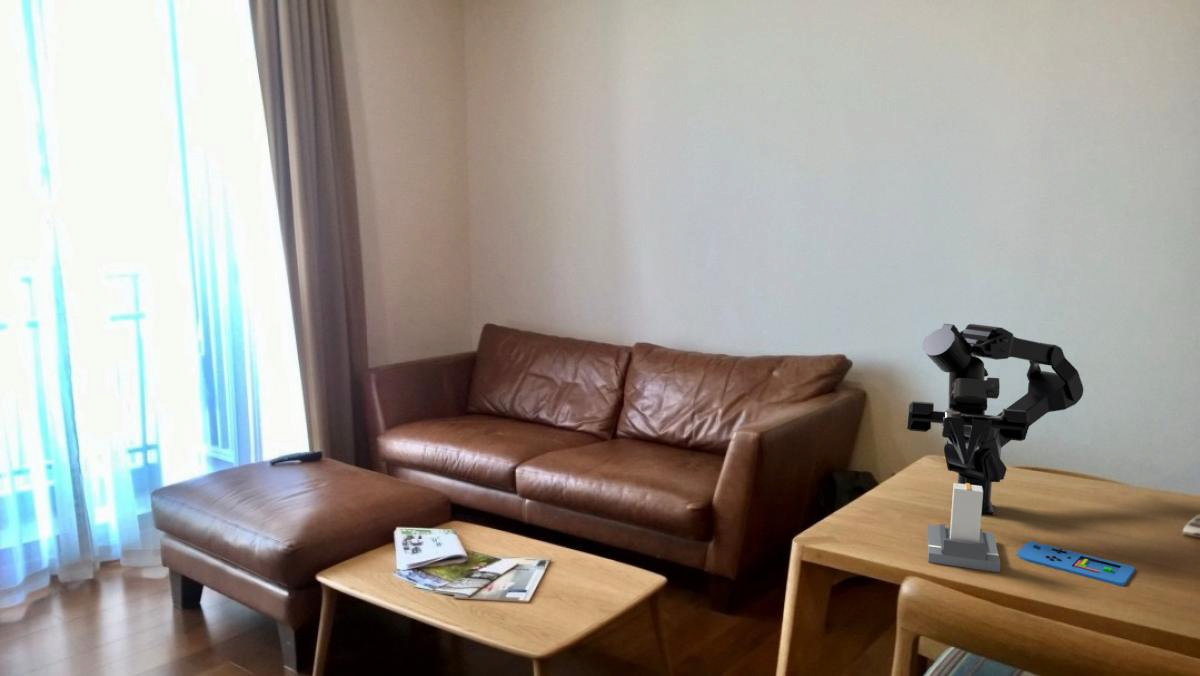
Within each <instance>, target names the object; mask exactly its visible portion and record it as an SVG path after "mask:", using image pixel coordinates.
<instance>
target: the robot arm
mask: <svg viewBox="0 0 1200 676" xmlns="http://www.w3.org/2000/svg"><path fill="white" fill-rule="evenodd" d="M921 347H922V351H923V352H924V353H925V354H926V356H927V357H928V358H929V359H930V360H931V361H932V362H933V363H934V365H936V366H937V367H938V368H939V369H940V370H941V371H942V372H944V373H948V374H949V375H948V409H944V411H938V410H937V411H935V410H934V407H935V405H934V402H928V401H915V400H913V401H911V402H910V403H909V404H908V411H907V412H908V413H907V422H906V423H907V424H906V426H907V427H906V429H907V430H909V431H911V432H912V431H913V432H914V431H915V432H921V433H922V432H923V433H927V432H928V431H930V430H931V428H932V423H933V424H941V425H942V432H941V436H942V438H946V442H945V444H944V447H943V453H944V457H945V464H946V468H947V471H949V472H953V473H957V474H958V475H957V483H959V484H965V483H970V485H977V486H982V489H983V500H982V513H981V514H986V515H993V514H995V513H994V510H995V509H994V507H993V504H992V501H991V499H992V498H991V497H992V487H993V485H992V484H993V483H1000V482H1001V480H1002V481H1003V480H1004V479H1005V476H1006V472H1007V471H1008V470H1007V467H1006V465H1005V463H1004V462H1003V461H1002V459H1001V456H1002V448H1003V447H1004V446H1005V445H1007V444H1008V443H1009V442H1011V441H1015V442H1016V441H1017V442H1018V441H1019V442H1022V441H1024V440H1026V436H1027V435H1028V430H1029V428H1030V427H1031V426H1032V425H1033V424H1034V423H1036V422H1037V421H1038V420H1040V419H1041V418H1042V417H1043V416H1045V415H1046V414H1048V413H1053V412H1059V411H1064V410H1067V409H1068V408H1069V409H1070V408H1071V407H1074V406H1075V405H1076V404H1077V403H1078V402H1079V401H1080V400H1081V399H1082V397H1083V396H1084V386H1083V382H1082V380H1081V376H1080V374H1079V370H1077V368H1075V366H1074V365H1072V363H1071V362H1070V361H1069V360H1068V359H1067V358H1066V356H1065V353H1064V351H1063V349H1062V347H1061V346H1059V345H1057V344H1052V343H1046V342H1045V343H1044V342H1037V341H1034V340H1028V339H1023V338H1019V337H1017V336H1014V333H1013V332H1010V330H1007V329H1005V328H1004V327H999V326H991V325H983V324H975V323H970V324H967V325H966V327H965V329H964V330H961V331H959V329H958V327H957V326H956V325H955V324H951V323H943V324H942V327H941V328H939V329H936V330H934V331H931V332H930V333H929V334H928V335H927V336H925V337H924V339H923V341H922V345H921ZM981 358H983V359H990V360H1005V359H1006V360H1008V359H1009V358H1014V359H1018V360H1024V361H1028V362H1029V368H1028V370H1027V372H1026V378H1027V381H1028V385H1027V393H1025V395H1023V396H1022V397H1020V398H1019V399H1017V400H1016V401H1014V402H1013V403H1012V404H1010V405H1009V406H1007V408H1003V409H1002V411H1001V412H1000V413H998V414H997V415H992V414H986V412H985V411H987V409H988V399H995V400H996V399H998V398H999V396H1000V388H1001V387H1000V378H999V377H988V376H989V372H988V370H987V368H985V363H984V361H983V360H982V359H981ZM1040 365H1045V366H1050V367H1051V369H1052V370H1053V371H1054V372H1052V371H1045V370H1042V369H1041V366H1040ZM985 377H987V379H986V380H985Z"/></svg>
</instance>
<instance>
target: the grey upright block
mask: <svg viewBox="0 0 1200 676" xmlns="http://www.w3.org/2000/svg"><path fill="white" fill-rule="evenodd" d="M951 500H952V501H951V512H950V513H951V514H950V539H954V540H962V541H969V542H977V543H979V539H980V529H981V523H982V514H983V513H982V500H983V489H982V486H977V485H970V483H965V484H959V483H958V482H957V483H956V482H953V486H952V499H951Z"/></svg>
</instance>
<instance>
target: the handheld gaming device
mask: <svg viewBox="0 0 1200 676" xmlns="http://www.w3.org/2000/svg"><path fill="white" fill-rule="evenodd" d="M1016 555H1018V556H1019V557H1020V558H1021V560H1022V559H1023V561H1024V560H1025V562H1027V561H1028V563H1030V564H1034V563H1035V564H1034V565H1038V566H1042V565H1044V566H1043V567H1046V566H1047V568H1050V567H1051V568H1050V569H1053V568H1054V570H1057V569H1058V570H1057V571H1061V570H1062V572H1065V571H1066V572H1065V573H1069V574H1072V573H1073V575H1075V576H1080V577H1084V578H1088V579H1091V578H1092V579H1091V580H1095V579H1096V581H1099V582H1104V583H1107V584H1110V585H1111V584H1112V585H1115V586H1118V587H1125V586H1126V584H1127V583H1128V581H1130V579H1131V578H1132V576H1133V574H1134V573H1135V572H1136V571H1135V570H1136V568H1135V566H1132V565H1130V564H1129V565H1128V564H1125V563H1120V562H1116V561H1114V560H1113V561H1111V560H1109V559H1103V558H1101V557H1100V558H1099V557H1097V556H1093V555H1092V556H1091V555H1089V554H1084V553H1080V552H1076V551H1072V550H1068V549H1064V548H1061V547H1056V546H1051V545H1049V544H1044V543H1040V542H1034V541H1028V542H1027V543H1026V544H1025V545H1024V546H1022V547H1021V548H1020V549H1019V550H1018V551H1017V554H1016ZM1018 556H1017V557H1018ZM1019 557H1018V558H1019ZM1020 558H1019V559H1020Z"/></svg>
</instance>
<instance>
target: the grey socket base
mask: <svg viewBox="0 0 1200 676" xmlns="http://www.w3.org/2000/svg"><path fill="white" fill-rule="evenodd" d="M926 532H927V533H926V534H927V561H928V562H927V563H931V564H939V565H946V566H953V567H959V568H960V567H961V568H967V569H974V570H979V571H980V570H981V571H987V572H995V573H1001V560H1000V559H1001V558H1000V554H999V552H998V551H999V550H998V547H997V543H996V539H995V535H994V532H990V531H989V532H988V531H983V529H982V528H980V539H979V543H977V542H969V541H962V540H954V539H950V527H949V526H946V524H944V523H939V525H932V524H927V531H926Z"/></svg>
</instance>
